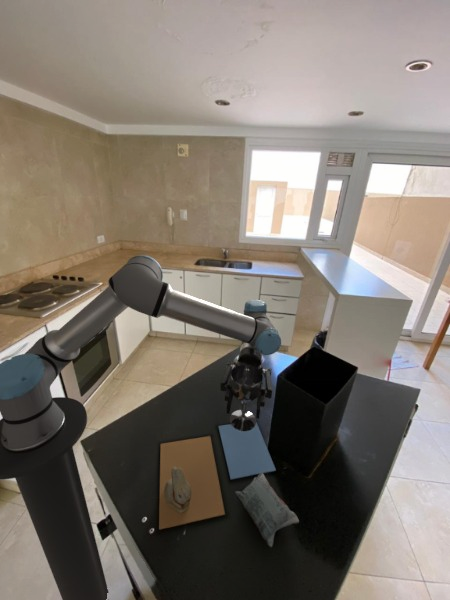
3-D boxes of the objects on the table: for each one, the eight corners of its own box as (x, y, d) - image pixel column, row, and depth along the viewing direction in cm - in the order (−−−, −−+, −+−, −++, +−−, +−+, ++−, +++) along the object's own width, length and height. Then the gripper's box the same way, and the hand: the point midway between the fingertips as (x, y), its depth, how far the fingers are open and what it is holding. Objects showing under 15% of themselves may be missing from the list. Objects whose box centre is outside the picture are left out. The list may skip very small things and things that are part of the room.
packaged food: (261, 478, 63) (263, 464, 61) (298, 526, 54) (301, 512, 52) (233, 498, 58) (234, 484, 57) (267, 555, 49) (270, 541, 47)
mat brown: (160, 444, 70) (160, 443, 70) (210, 436, 73) (210, 435, 73) (159, 529, 52) (158, 528, 52) (224, 514, 55) (224, 513, 55)
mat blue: (218, 426, 77) (218, 426, 77) (255, 421, 79) (255, 420, 79) (230, 479, 62) (230, 479, 62) (275, 470, 65) (276, 470, 65)
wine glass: (235, 436, 63) (239, 388, 58) (223, 413, 70) (225, 368, 65) (263, 427, 66) (269, 380, 61) (249, 405, 73) (253, 362, 68)
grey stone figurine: (166, 522, 53) (164, 491, 50) (163, 484, 60) (161, 455, 57) (192, 514, 55) (192, 483, 51) (187, 478, 62) (186, 449, 58)
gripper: (279, 371, 82) (282, 430, 61) (220, 363, 84) (203, 417, 63) (282, 351, 79) (286, 406, 58) (221, 343, 82) (203, 393, 61)
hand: (243, 411), depth 61 cm, fingers closed on wine glass, 6 cm apart
